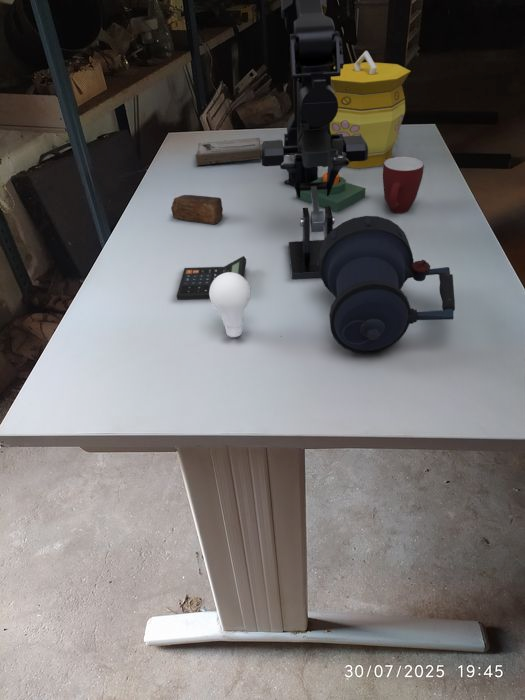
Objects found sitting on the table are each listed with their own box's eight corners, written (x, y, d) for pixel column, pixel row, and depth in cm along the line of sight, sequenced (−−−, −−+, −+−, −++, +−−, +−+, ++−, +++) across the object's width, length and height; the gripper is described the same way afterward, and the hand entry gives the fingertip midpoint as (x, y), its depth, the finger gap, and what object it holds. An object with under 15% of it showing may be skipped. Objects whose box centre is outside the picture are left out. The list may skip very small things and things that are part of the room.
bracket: (288, 247, 106) (287, 199, 100) (339, 244, 106) (341, 196, 99) (292, 279, 97) (290, 229, 90) (347, 276, 96) (350, 225, 90)
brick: (223, 217, 118) (221, 196, 115) (216, 225, 115) (213, 204, 112) (181, 212, 121) (177, 192, 118) (172, 219, 118) (169, 199, 115)
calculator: (185, 271, 101) (182, 257, 99) (247, 270, 100) (246, 255, 98) (177, 299, 93) (174, 285, 91) (244, 298, 93) (243, 283, 91)
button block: (296, 198, 124) (295, 181, 121) (323, 184, 129) (324, 168, 127) (337, 212, 117) (338, 194, 114) (365, 197, 122) (366, 180, 120)
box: (262, 160, 142) (261, 148, 140) (196, 166, 142) (195, 154, 141) (261, 148, 150) (260, 136, 149) (199, 153, 151) (198, 142, 149)
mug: (414, 224, 111) (420, 176, 104) (374, 220, 113) (378, 174, 107) (419, 203, 118) (425, 157, 112) (382, 200, 120) (386, 155, 114)
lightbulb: (214, 326, 87) (206, 266, 80) (252, 322, 87) (247, 262, 80) (215, 349, 82) (207, 288, 75) (255, 346, 82) (250, 284, 75)
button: (319, 183, 121) (319, 175, 120) (329, 178, 123) (329, 170, 122) (332, 187, 119) (332, 179, 118) (342, 181, 121) (342, 174, 120)
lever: (299, 189, 102) (299, 179, 100) (326, 187, 102) (326, 177, 100) (303, 232, 96) (304, 223, 94) (331, 231, 96) (332, 221, 94)
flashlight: (316, 288, 93) (433, 283, 92) (323, 375, 78) (464, 371, 77) (316, 212, 83) (448, 205, 82) (325, 295, 68) (487, 288, 67)
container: (356, 179, 131) (362, 64, 115) (304, 156, 145) (303, 51, 129) (418, 158, 139) (432, 49, 123) (363, 138, 153) (369, 38, 138)
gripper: (259, 126, 86) (264, 217, 96) (376, 120, 86) (369, 212, 95) (259, 107, 95) (263, 192, 105) (365, 101, 94) (360, 187, 104)
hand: (313, 196), depth 102 cm, fingers closed on lever, 5 cm apart
